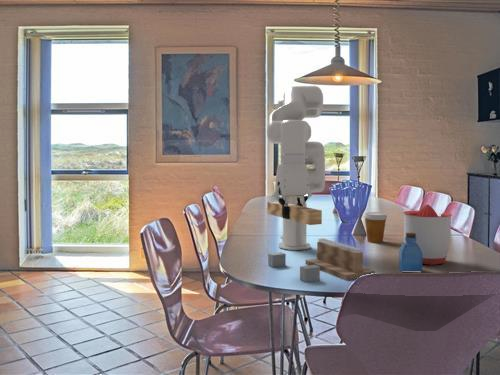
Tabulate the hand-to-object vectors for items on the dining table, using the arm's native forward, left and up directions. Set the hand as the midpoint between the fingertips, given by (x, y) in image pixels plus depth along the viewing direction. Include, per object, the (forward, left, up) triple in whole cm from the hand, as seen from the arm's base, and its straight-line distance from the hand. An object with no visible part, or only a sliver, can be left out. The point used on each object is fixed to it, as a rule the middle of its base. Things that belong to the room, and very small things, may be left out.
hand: (292, 217), depth 146 cm
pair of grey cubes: (0, 0, -17) cm, 18 cm away
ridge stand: (+4, +15, -17) cm, 23 cm away
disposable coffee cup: (-28, +58, -18) cm, 67 cm away
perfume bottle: (+15, +35, -18) cm, 42 cm away
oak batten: (0, 0, 0) cm, 0 cm away
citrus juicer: (+8, +50, -18) cm, 54 cm away
